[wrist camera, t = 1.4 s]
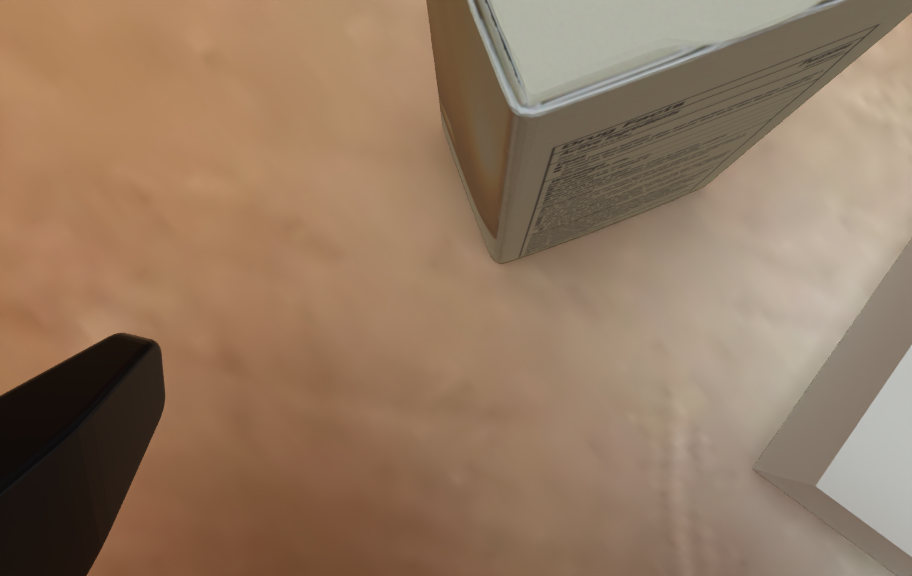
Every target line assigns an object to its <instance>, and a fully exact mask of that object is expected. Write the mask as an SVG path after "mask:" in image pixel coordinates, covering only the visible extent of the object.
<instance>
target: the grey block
mask: <svg viewBox="0 0 912 576" xmlns="http://www.w3.org/2000/svg"><path fill="white" fill-rule="evenodd" d="M752 469H753V470H755V471H756V472H757V473H759V474H760V475H762V476H763V477H764V478H766V479H767V480H768V481H770V482H771V483H772V484H774V485H775V486H776V487H778V488H779V489H780V490H782V491H783V492H784V493H786V494H787V495H789V496H790V497H791V498H793V499H794V500H795V501H797V502H798V503H799V504H801V505H802V506H803V507H805V508H806V509H807V510H809V511H810V512H811V513H813V514H814V515H816V516H817V517H818V518H820V519H821V520H822V521H824V522H825V523H826V524H828V525H829V526H830V527H832V528H833V529H834V530H836V531H837V532H838V533H840V534H841V535H842V536H844V537H845V538H847V539H848V540H849V541H851V542H852V543H853V544H855V545H856V546H857V547H859V548H860V549H861V550H863V551H864V552H865V553H867V554H868V555H869V556H871V557H872V558H874V559H875V560H876V561H878V562H879V563H880V564H882V565H883V566H884V567H886V568H887V569H888V570H890V571H891V572H892V573H894V574H895V575H896V576H912V238H911V240H910V241H909V243H908V244H907V246H906V247H905V249H904V250H903V251H902V253H901V254H900V256H899V257H898V259H897V260H896V261H895V263H894V264H893V266H892V267H891V269H890V270H889V272H888V273H887V274H886V276H885V277H884V279H883V280H882V282H881V283H880V285H879V286H878V287H877V289H876V290H875V292H874V293H873V295H872V296H871V298H870V299H869V300H868V302H867V303H866V305H865V306H864V308H863V309H862V311H861V312H860V313H859V315H858V316H857V318H856V319H855V321H854V322H853V324H852V325H851V326H850V328H849V329H848V331H847V332H846V334H845V335H844V337H843V338H842V339H841V341H840V342H839V344H838V345H837V347H836V348H835V350H834V351H833V352H832V354H831V355H830V357H829V358H828V360H827V361H826V362H825V364H824V365H823V367H822V368H821V370H820V371H819V373H818V374H817V375H816V377H815V378H814V380H813V381H812V383H811V384H810V386H809V387H808V388H807V390H806V391H805V393H804V394H803V396H802V397H801V399H800V400H799V401H798V403H797V404H796V406H795V407H794V409H793V410H792V412H791V413H790V414H789V416H788V417H787V419H786V420H785V422H784V423H783V425H782V426H781V427H780V429H779V430H778V432H777V433H776V435H775V436H774V438H773V439H772V440H771V442H770V443H769V445H768V446H767V448H766V449H765V451H764V452H763V453H762V455H761V456H760V458H759V459H758V461H757V462H756V463H755V465H754V466H753V468H752Z"/></svg>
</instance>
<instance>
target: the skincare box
mask: <svg viewBox="0 0 912 576" xmlns="http://www.w3.org/2000/svg"><path fill="white" fill-rule="evenodd" d="M426 1H427V9H428V16H429V24H430V32H431V41H432V49H433V55H434V62H435V71H436V79H437V86H438V93H439V102H440V111H441V119H442V125H443V128H444V131H445V134H446V137H447V140H448V143H449V146H450V149H451V151H452V154H453V157H454V160H455V163H456V166H457V168H458V171H459V174H460V177H461V179H462V182H463V185H464V188H465V190H466V193H467V196H468V199H469V202H470V204H471V207H472V210H473V212H474V215H475V217H476V220H477V222H478V225H479V227H480V230H481V232H482V235H483V238H484V240H485V243H486V245H487V248H488V250H489V253H490V255H491V257H492V258H493V260H494V261H495V262H498V263H505V262H508V261H511V260H515V259H518V258H521V257H524V256H527V255H530V254H533V253H535V252H538V251H541V250H544V249H547V248H550V247H552V246H555V245H558V244H561V243H563V242H566V241H569V240H572V239H575V238H577V237H580V236H583V235H585V234H588V233H591V232H593V231H596V230H598V229H601V228H603V227H606V226H608V225H611V224H614V223H616V222H619V221H621V220H624V219H627V218H629V217H632V216H634V215H637V214H639V213H642V212H644V211H647V210H649V209H652V208H654V207H657V206H659V205H662V204H664V203H666V202H669V201H671V200H674V199H676V198H678V197H681V196H683V195H685V194H688V193H690V192H693V191H695V190H697V189H700V188H702V187H704V186H706V185H707V184H709V183H710V182H711V181H712V180H713V179H714V178H716V177H717V176H718V175H719V174H720V173H721V172H723V171H724V170H725V169H726V168H728V167H729V166H730V165H731V164H732V163H733V162H735V161H736V160H737V159H738V158H739V157H740V156H742V155H743V154H744V153H745V152H746V151H747V150H749V149H750V148H751V147H752V146H753V145H755V144H756V143H757V142H758V141H759V140H761V139H762V138H763V137H764V136H765V135H767V134H768V133H769V132H770V131H771V130H772V129H774V128H775V127H776V126H777V125H778V124H780V123H781V122H782V121H783V120H784V119H786V118H787V117H788V116H789V115H790V114H791V113H793V112H794V111H795V110H796V109H797V108H799V107H800V106H801V105H802V104H803V103H804V102H806V101H807V100H808V99H809V98H810V97H812V96H813V95H814V94H815V93H816V92H818V91H819V90H820V89H821V88H823V87H824V86H825V85H826V84H827V83H829V82H830V81H831V80H832V79H833V78H835V77H836V76H837V75H838V74H839V73H841V72H842V71H843V70H844V69H845V68H847V67H848V66H849V65H850V64H851V63H852V62H854V61H855V60H856V59H857V58H859V57H860V56H861V55H862V54H863V53H864V52H866V51H867V50H868V49H869V48H870V47H871V46H873V45H874V44H875V43H876V42H878V41H879V40H880V39H881V38H882V37H884V36H885V35H886V34H887V33H888V32H890V31H891V30H892V29H893V28H894V27H896V26H897V25H898V24H899V23H900V22H901V21H902V20H904V19H905V18H906V17H907V16H908V15H909V14H911V13H912V0H426Z"/></svg>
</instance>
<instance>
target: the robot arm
mask: <svg viewBox="0 0 912 576" xmlns="http://www.w3.org/2000/svg"><path fill="white" fill-rule="evenodd" d="M164 404H165V387H164V376H163V365H162V354H161V349H160V346H159V345H158V343H157V342H156V341H154V340H152V339H148V338H143V337H139V336H135V335H131V334H127V333H117V334H114V335H111V336H109V337H107V338H105V339H104V340H102V341H100V342H98V343H96V344H94V345H93V346H91V347H89V348H87V349H85V350H83V351H82V352H80V353H78V354H76V355H74V356H72V357H71V358H69V359H67V360H65V361H63V362H61V363H60V364H58V365H56V366H54V367H52V368H50V369H49V370H47V371H45V372H43V373H41V374H39V375H38V376H36V377H34V378H32V379H30V380H28V381H26V382H25V383H23V384H21V385H19V386H17V387H15V388H14V389H12V390H10V391H8V392H6V393H4V394H3V395H1V396H0V576H86V575H87V574H88V572H89V570H90V569H91V567H92V565H93V563H94V561H95V559H96V558H97V556H98V554H99V552H100V550H101V549H102V547H103V544H104V542H105V540H106V538H107V536H108V534H109V532H110V530H111V528H112V525H113V523H114V521H115V519H116V516H117V514H118V512H119V510H120V508H121V505H122V503H123V501H124V499H125V496H126V494H127V492H128V490H129V487H130V485H131V483H132V481H133V478H134V476H135V474H136V472H137V469H138V467H139V465H140V463H141V461H142V458H143V456H144V454H145V452H146V449H147V447H148V445H149V443H150V440H151V438H152V436H153V434H154V431H155V429H156V427H157V425H158V422H159V420H160V418H161V415H162V412H163V408H164Z"/></svg>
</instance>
